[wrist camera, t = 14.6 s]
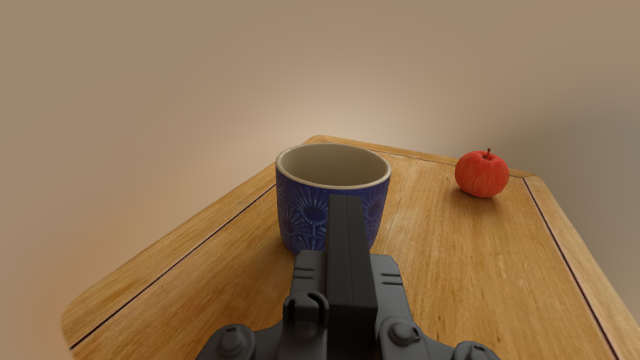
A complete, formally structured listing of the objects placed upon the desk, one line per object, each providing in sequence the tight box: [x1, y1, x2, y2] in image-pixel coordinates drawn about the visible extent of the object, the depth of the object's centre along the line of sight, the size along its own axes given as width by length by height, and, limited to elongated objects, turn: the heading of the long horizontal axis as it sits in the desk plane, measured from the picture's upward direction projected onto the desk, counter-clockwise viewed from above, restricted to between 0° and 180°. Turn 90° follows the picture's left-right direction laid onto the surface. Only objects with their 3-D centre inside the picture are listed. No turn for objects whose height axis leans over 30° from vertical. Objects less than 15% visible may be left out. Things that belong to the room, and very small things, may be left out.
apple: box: [455, 148, 509, 197], centre depth 51 cm, size 8×8×8 cm
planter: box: [275, 143, 392, 257], centre depth 35 cm, size 12×12×11 cm
